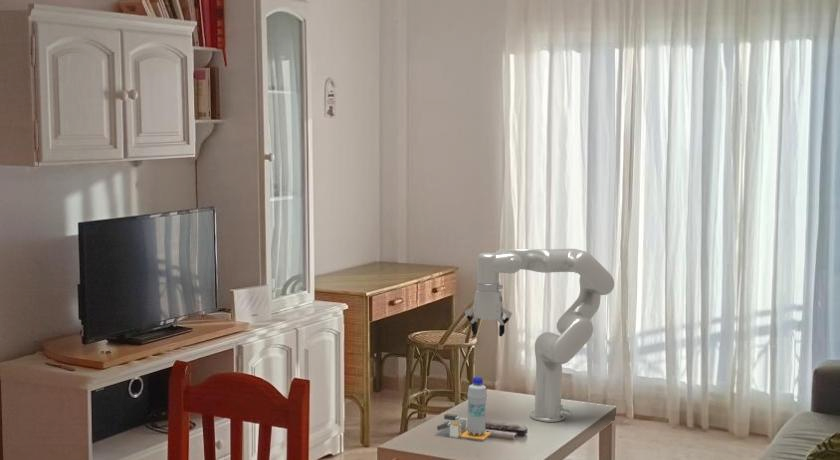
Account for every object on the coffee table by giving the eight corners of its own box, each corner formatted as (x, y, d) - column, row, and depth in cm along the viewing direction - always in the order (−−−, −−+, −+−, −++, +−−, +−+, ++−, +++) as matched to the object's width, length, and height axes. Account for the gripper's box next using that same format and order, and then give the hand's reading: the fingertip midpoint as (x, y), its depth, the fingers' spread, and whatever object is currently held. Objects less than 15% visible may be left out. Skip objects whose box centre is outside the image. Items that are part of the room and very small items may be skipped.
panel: (493, 434, 357) (494, 419, 357) (482, 444, 345) (482, 428, 344) (447, 428, 363) (447, 413, 363) (434, 438, 351) (435, 422, 351)
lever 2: (459, 419, 360) (459, 415, 360) (457, 420, 357) (457, 417, 357) (446, 417, 362) (446, 413, 362) (443, 419, 359) (444, 415, 359)
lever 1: (452, 424, 352) (451, 420, 352) (450, 426, 350) (448, 422, 350) (440, 428, 354) (439, 425, 354) (437, 430, 352) (436, 427, 352)
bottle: (488, 432, 355) (489, 375, 353) (482, 438, 348) (484, 380, 346) (469, 430, 357) (470, 373, 355) (463, 435, 351) (465, 378, 349)
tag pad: (491, 433, 355) (491, 432, 355) (483, 440, 347) (483, 439, 347) (467, 430, 358) (467, 429, 358) (459, 436, 350) (459, 436, 350)
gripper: (514, 287, 367) (514, 334, 369) (467, 284, 373) (467, 331, 374) (509, 290, 360) (509, 338, 362) (462, 288, 365) (462, 335, 367)
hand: (488, 334), depth 368 cm, fingers open, 9 cm apart
